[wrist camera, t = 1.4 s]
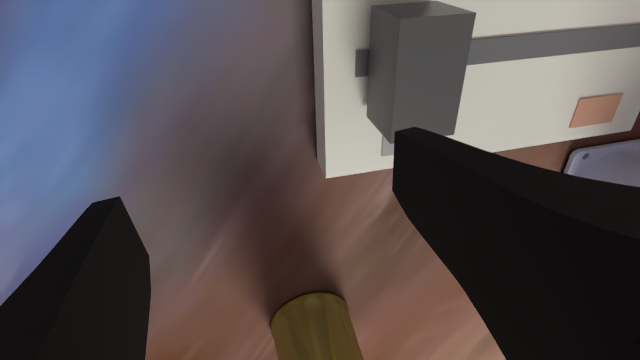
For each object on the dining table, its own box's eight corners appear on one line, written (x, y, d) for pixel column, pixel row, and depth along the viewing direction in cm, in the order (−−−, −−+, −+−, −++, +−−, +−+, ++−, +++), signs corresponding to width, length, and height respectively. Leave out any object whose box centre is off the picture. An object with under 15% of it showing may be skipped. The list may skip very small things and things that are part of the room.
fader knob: (436, 0, 17) (476, 12, 14) (423, 109, 19) (454, 134, 17) (371, 5, 16) (400, 18, 14) (366, 116, 19) (390, 144, 16)
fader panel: (693, -102, 20) (740, -105, 18) (604, 117, 26) (632, 131, 24) (308, -93, 16) (320, -97, 14) (317, 160, 22) (326, 179, 21)
